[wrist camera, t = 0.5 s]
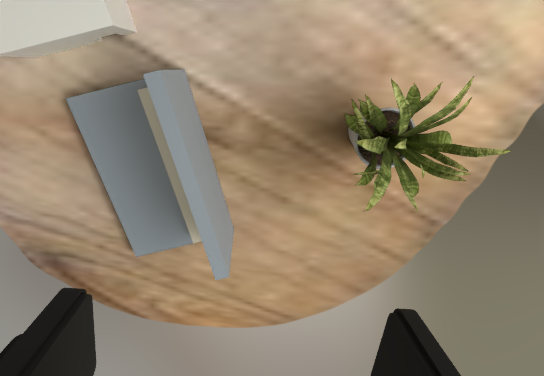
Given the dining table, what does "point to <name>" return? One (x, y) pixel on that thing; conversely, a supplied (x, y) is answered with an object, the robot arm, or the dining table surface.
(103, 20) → the cream rectangular block
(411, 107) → the house plant
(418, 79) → the dining table surface
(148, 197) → the cleat board
